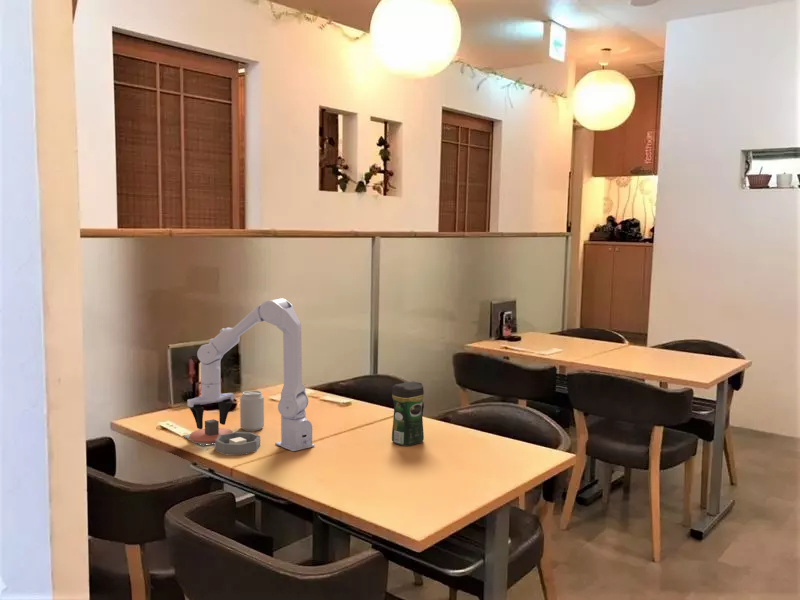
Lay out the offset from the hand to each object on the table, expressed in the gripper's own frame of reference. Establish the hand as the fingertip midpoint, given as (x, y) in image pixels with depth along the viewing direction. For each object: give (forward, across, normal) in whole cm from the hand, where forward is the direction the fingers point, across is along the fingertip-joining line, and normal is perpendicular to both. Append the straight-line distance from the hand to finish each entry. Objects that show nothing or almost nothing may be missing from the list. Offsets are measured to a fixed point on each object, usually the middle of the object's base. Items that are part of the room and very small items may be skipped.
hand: (211, 426), depth 213 cm
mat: (+4, 0, 0) cm, 4 cm away
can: (+4, -15, -1) cm, 16 cm away
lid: (+3, 0, 0) cm, 3 cm away
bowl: (+4, -1, +14) cm, 15 cm away
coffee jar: (+4, -43, +42) cm, 60 cm away
